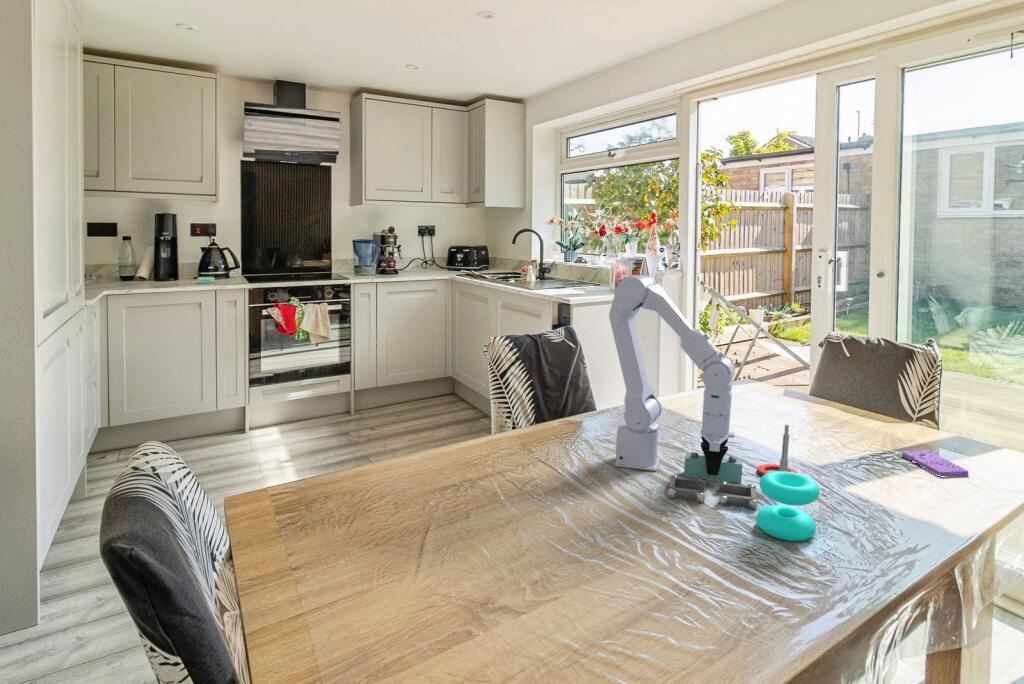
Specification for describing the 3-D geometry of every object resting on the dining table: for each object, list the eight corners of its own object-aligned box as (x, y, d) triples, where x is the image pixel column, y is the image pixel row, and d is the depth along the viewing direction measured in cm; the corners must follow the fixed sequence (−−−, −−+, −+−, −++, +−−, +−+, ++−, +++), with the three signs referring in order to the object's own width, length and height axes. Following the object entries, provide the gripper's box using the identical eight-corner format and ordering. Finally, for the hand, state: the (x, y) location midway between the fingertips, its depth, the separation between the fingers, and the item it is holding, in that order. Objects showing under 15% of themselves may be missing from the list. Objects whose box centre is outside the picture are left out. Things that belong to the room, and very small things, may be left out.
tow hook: (753, 467, 143) (763, 482, 134) (757, 413, 141) (767, 424, 132) (791, 470, 142) (803, 484, 133) (795, 415, 140) (808, 427, 131)
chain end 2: (718, 505, 123) (719, 497, 123) (718, 488, 131) (719, 480, 131) (757, 510, 121) (758, 502, 121) (754, 492, 129) (755, 484, 129)
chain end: (667, 498, 126) (667, 490, 126) (670, 482, 134) (670, 474, 134) (704, 503, 124) (704, 495, 124) (705, 486, 132) (705, 478, 132)
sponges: (928, 457, 150) (929, 450, 149) (969, 478, 137) (970, 470, 137) (900, 458, 149) (901, 450, 149) (939, 479, 137) (940, 471, 137)
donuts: (802, 468, 117) (831, 490, 107) (797, 516, 118) (826, 543, 109) (750, 469, 116) (775, 491, 106) (746, 518, 118) (771, 545, 108)
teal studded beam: (683, 477, 137) (685, 454, 136) (684, 472, 140) (685, 450, 139) (741, 484, 134) (742, 461, 133) (740, 478, 136) (742, 456, 135)
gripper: (736, 424, 126) (732, 486, 129) (735, 404, 140) (731, 461, 142) (700, 421, 128) (697, 482, 131) (702, 402, 142) (699, 457, 144)
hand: (712, 471), depth 137 cm, fingers open, 3 cm apart
